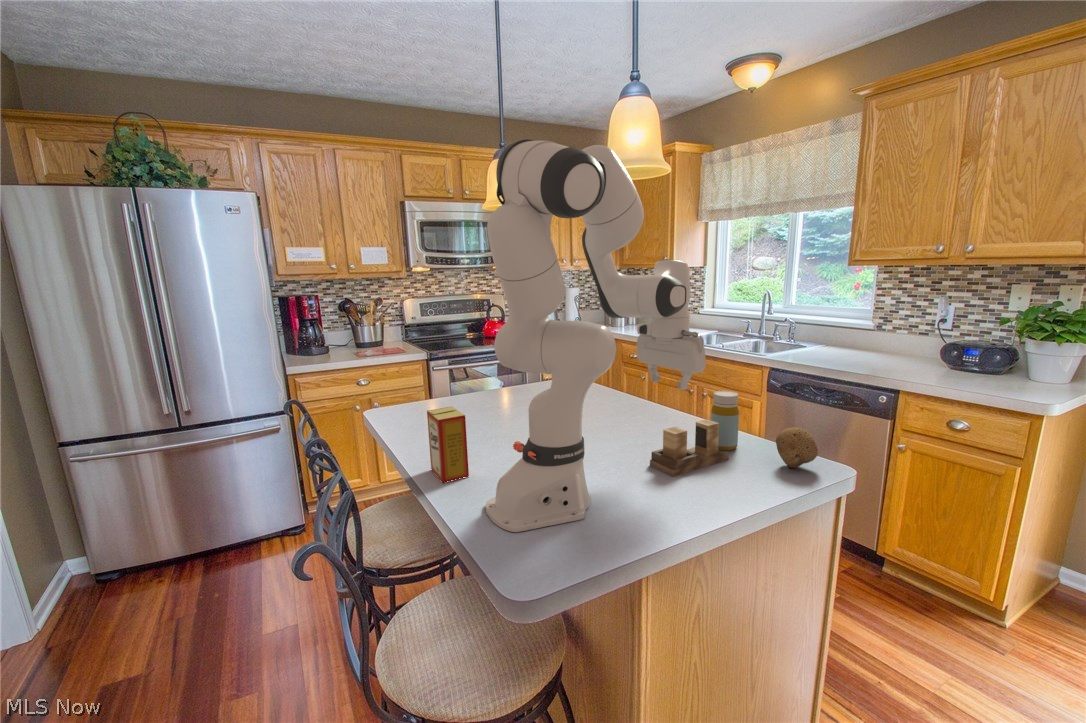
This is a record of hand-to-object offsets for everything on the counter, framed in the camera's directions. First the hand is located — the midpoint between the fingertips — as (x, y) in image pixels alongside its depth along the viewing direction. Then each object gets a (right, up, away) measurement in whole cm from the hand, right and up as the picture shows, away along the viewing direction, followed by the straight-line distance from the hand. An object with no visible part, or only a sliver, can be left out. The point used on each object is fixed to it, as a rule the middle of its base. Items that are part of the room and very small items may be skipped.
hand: (668, 385), depth 119 cm
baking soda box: (-54, -22, +2) cm, 58 cm away
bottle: (+19, -18, +15) cm, 30 cm away
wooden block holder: (+6, -20, +5) cm, 21 cm away
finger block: (+2, -19, +2) cm, 19 cm away
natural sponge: (+31, -20, 0) cm, 37 cm away
